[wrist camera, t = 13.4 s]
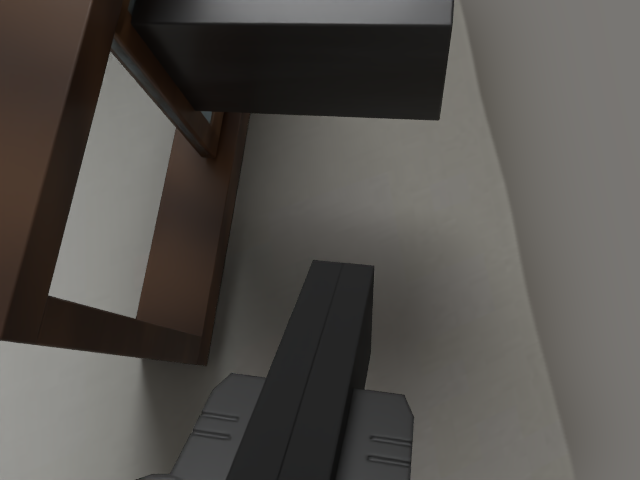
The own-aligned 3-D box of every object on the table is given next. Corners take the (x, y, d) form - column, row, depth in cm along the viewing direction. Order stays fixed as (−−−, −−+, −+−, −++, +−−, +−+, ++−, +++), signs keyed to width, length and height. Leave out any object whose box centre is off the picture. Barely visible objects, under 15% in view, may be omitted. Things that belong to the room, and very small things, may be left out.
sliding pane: (433, 170, 29) (455, 18, 17) (201, 158, 31) (79, 16, 19) (446, -10, 32) (473, -246, 20) (233, -9, 34) (144, -220, 22)
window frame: (206, 366, 30) (0, 340, 14) (140, 357, 30) (-124, 325, 15) (278, -48, 37) (190, -359, 21) (223, -47, 37) (99, -348, 22)
